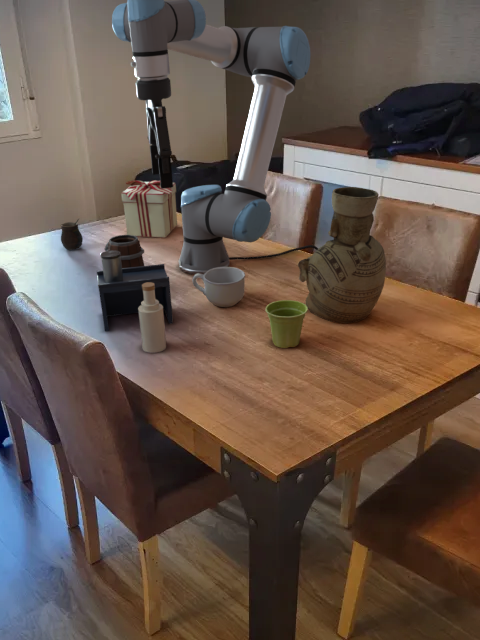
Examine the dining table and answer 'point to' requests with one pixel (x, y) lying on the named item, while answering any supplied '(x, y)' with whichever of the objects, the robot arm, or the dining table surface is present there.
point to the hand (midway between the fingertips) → (162, 180)
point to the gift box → (149, 209)
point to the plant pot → (286, 322)
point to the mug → (127, 250)
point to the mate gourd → (71, 235)
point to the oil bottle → (151, 321)
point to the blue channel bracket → (134, 291)
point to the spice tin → (112, 266)
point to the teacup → (222, 285)
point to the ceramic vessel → (346, 261)
